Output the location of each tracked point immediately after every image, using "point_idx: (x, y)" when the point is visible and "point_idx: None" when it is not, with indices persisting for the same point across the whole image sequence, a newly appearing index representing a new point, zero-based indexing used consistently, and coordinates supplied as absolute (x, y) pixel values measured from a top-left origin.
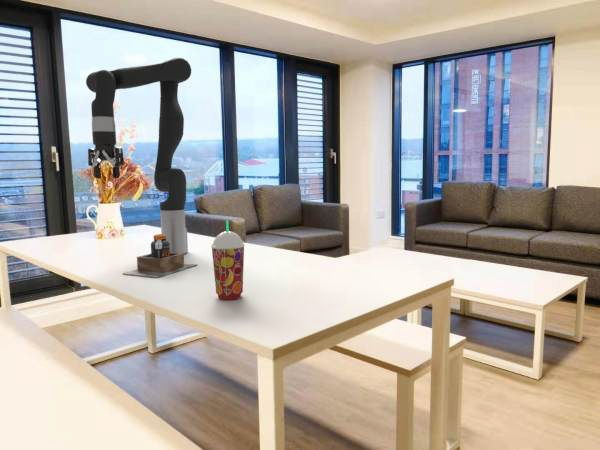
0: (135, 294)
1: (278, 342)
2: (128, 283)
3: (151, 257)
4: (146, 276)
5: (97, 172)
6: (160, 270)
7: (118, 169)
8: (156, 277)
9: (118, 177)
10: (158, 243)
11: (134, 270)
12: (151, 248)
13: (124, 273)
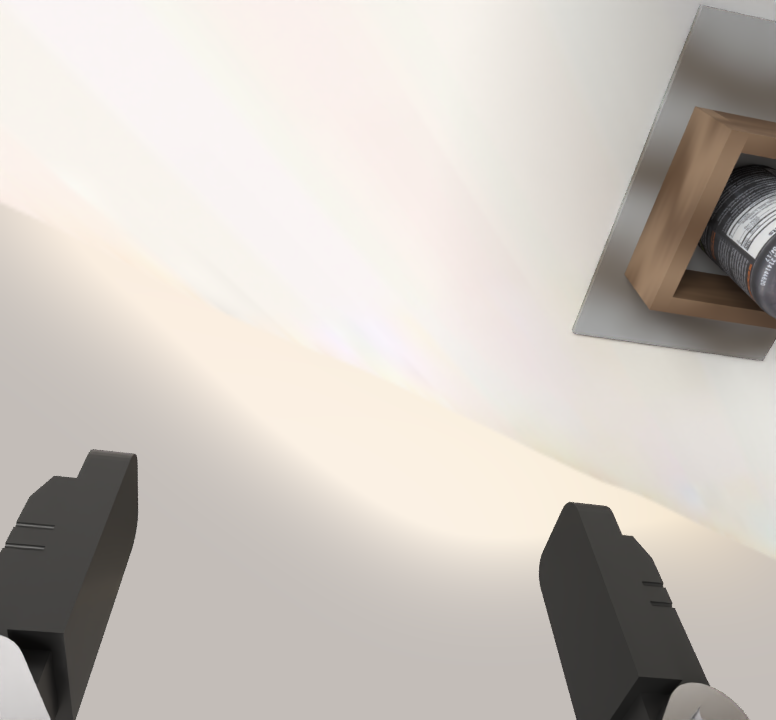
0: (746, 533)
1: None
2: (668, 442)
3: (722, 269)
4: (706, 350)
5: (106, 599)
6: None
7: (682, 666)
8: (759, 358)
9: (602, 515)
10: None
11: (607, 276)
12: (752, 298)
13: (584, 334)
